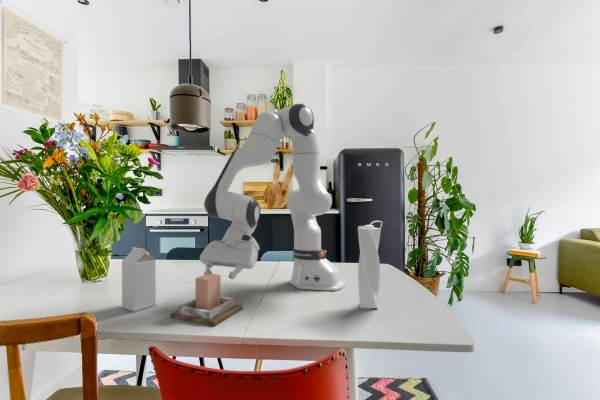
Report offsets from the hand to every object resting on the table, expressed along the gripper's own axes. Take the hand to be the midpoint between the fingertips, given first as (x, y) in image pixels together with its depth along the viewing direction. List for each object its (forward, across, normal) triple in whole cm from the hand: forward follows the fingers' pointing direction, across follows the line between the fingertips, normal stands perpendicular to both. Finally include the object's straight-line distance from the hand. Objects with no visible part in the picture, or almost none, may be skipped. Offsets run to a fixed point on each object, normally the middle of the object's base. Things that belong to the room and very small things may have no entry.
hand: (218, 276), depth 98 cm
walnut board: (+11, 0, +3) cm, 11 cm away
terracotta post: (+10, 0, +3) cm, 10 cm away
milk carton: (+13, -24, 0) cm, 28 cm away
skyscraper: (-6, +45, +22) cm, 50 cm away
